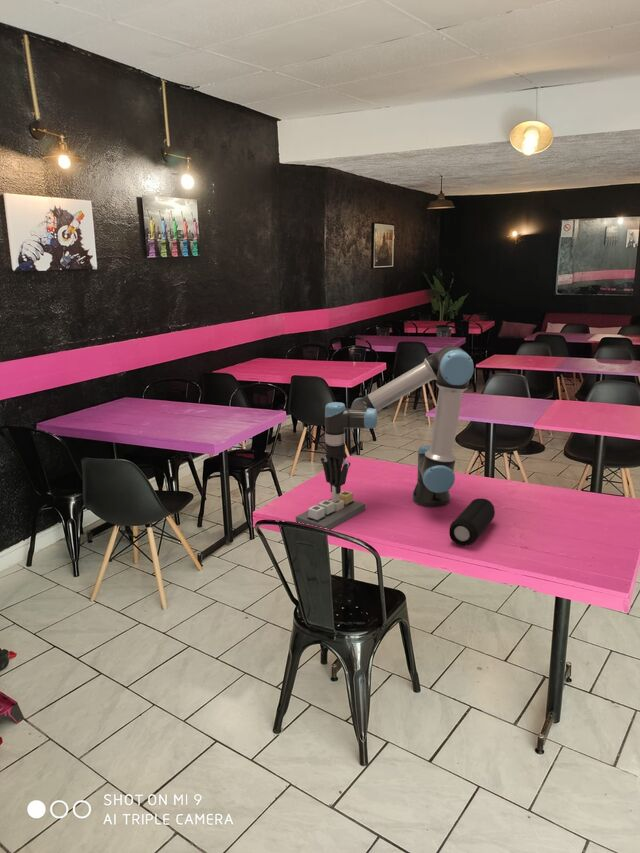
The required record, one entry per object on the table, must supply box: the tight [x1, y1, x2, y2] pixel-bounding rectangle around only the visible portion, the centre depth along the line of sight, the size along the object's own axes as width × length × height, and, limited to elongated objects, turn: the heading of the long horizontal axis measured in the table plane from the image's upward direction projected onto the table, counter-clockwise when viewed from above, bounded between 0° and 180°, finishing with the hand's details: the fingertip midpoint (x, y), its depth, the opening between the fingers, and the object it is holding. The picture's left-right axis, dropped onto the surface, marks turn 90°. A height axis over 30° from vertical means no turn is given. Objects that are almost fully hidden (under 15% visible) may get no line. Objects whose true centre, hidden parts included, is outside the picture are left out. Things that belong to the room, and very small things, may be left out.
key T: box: [331, 500, 344, 511], centre depth 244 cm, size 4×4×4 cm
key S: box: [339, 490, 354, 504], centre depth 248 cm, size 4×4×4 cm
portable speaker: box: [448, 498, 496, 547], centre depth 225 cm, size 26×10×10 cm, turn 148°
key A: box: [317, 499, 335, 515], centre depth 240 cm, size 4×4×4 cm
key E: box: [307, 504, 325, 520], centre depth 235 cm, size 4×4×4 cm
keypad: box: [295, 498, 366, 530], centre depth 243 cm, size 14×26×2 cm, turn 141°
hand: (335, 500), depth 244 cm, fingers closed
